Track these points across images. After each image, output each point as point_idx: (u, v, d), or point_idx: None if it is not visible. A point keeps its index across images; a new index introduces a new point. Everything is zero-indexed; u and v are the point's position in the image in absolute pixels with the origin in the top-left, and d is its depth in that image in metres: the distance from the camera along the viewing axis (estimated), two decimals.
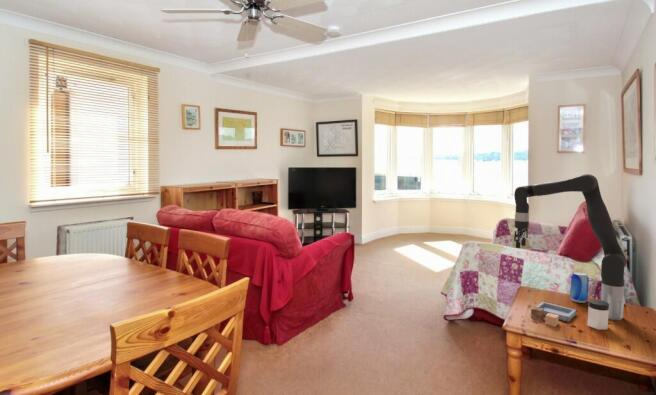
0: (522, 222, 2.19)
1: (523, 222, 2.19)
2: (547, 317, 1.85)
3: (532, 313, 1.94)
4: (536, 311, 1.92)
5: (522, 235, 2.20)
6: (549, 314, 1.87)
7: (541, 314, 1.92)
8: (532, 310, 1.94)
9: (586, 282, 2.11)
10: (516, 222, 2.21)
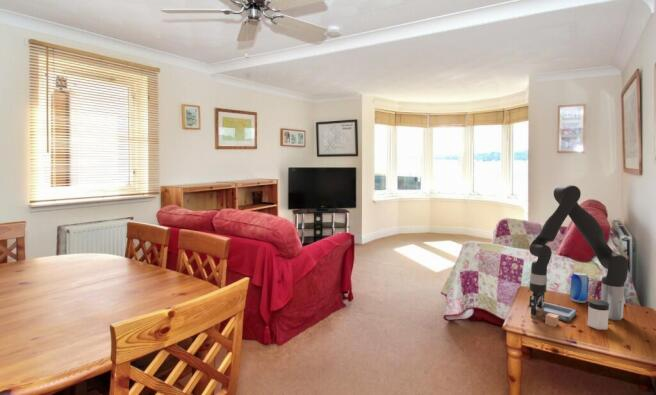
0: (539, 286, 1.89)
1: (540, 286, 1.89)
2: (547, 317, 1.85)
3: None
4: (536, 311, 1.92)
5: (538, 300, 1.90)
6: (549, 314, 1.87)
7: (541, 314, 1.92)
8: None
9: (586, 282, 2.11)
10: (532, 285, 1.92)
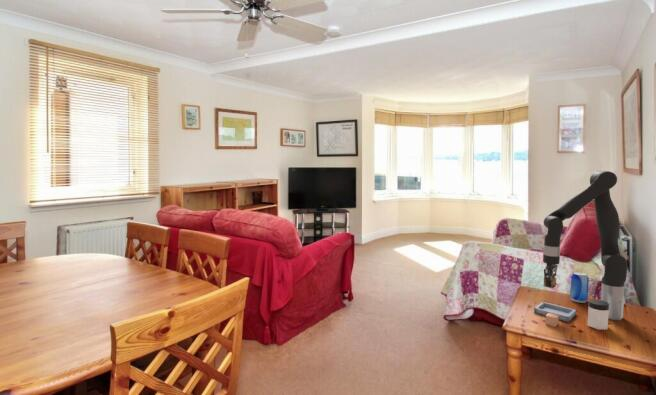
0: (552, 257, 1.94)
1: (553, 257, 1.94)
2: (547, 317, 1.85)
3: (545, 282, 1.99)
4: None
5: (552, 272, 1.96)
6: (549, 314, 1.87)
7: (553, 283, 1.97)
8: (545, 279, 1.98)
9: (586, 282, 2.11)
10: (545, 257, 1.97)
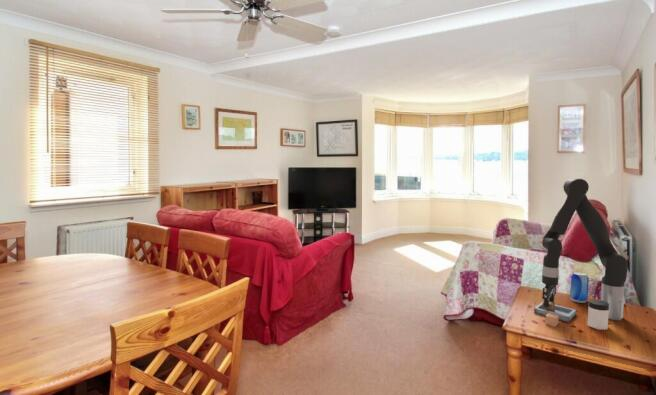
0: (551, 278, 1.95)
1: (552, 278, 1.95)
2: (547, 317, 1.85)
3: (543, 306, 2.00)
4: None
5: (551, 292, 1.96)
6: (549, 314, 1.87)
7: (552, 308, 1.98)
8: None
9: (586, 282, 2.11)
10: (544, 277, 1.98)
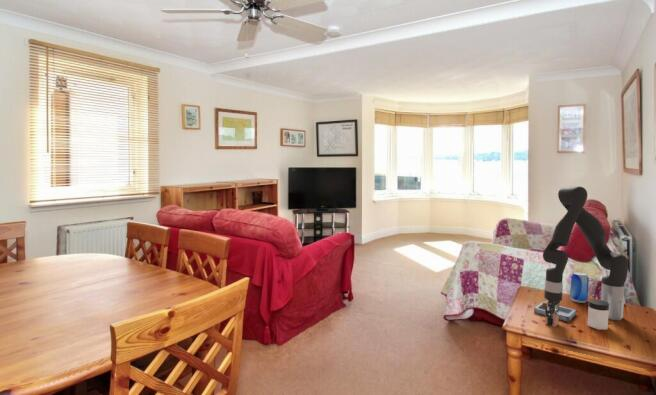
0: (554, 294, 1.81)
1: (556, 294, 1.81)
2: (547, 317, 1.85)
3: (543, 306, 2.00)
4: None
5: (555, 309, 1.82)
6: (549, 314, 1.87)
7: None
8: (544, 304, 2.00)
9: (586, 282, 2.11)
10: (547, 293, 1.84)
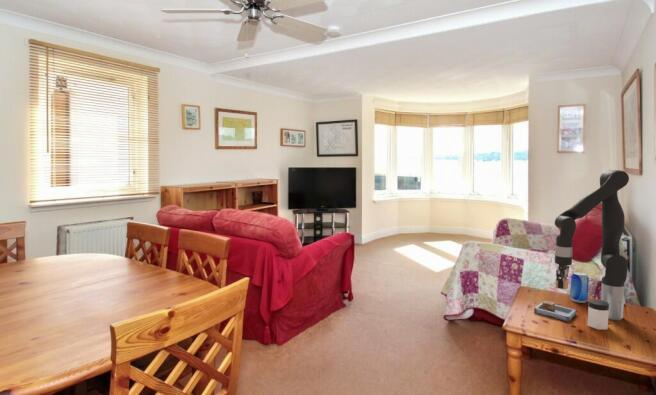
0: (565, 258, 1.90)
1: (566, 258, 1.90)
2: (557, 281, 1.94)
3: (543, 306, 2.00)
4: (548, 305, 1.98)
5: (565, 273, 1.91)
6: None
7: (552, 308, 1.98)
8: (544, 304, 2.00)
9: (586, 282, 2.11)
10: (557, 257, 1.92)
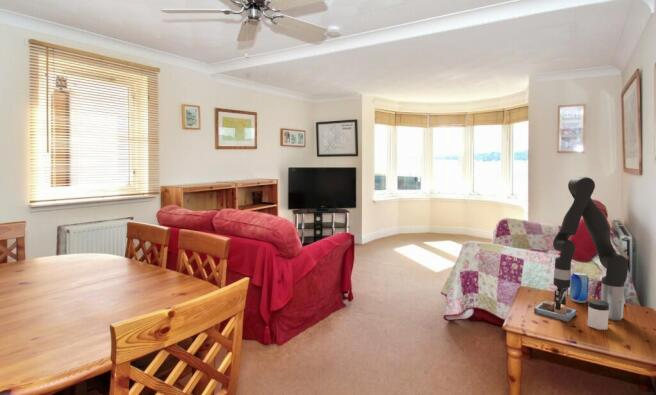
0: (563, 281, 1.91)
1: (564, 281, 1.91)
2: None
3: (543, 306, 2.00)
4: (548, 305, 1.98)
5: (563, 295, 1.92)
6: None
7: (552, 308, 1.98)
8: (544, 304, 2.00)
9: (586, 282, 2.11)
10: (556, 280, 1.94)
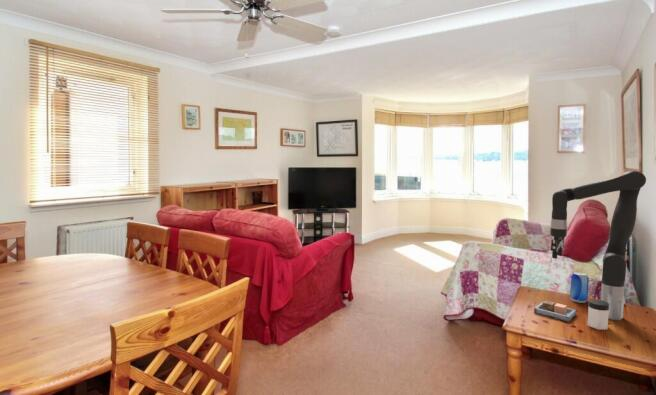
0: (560, 230, 2.00)
1: (561, 230, 2.00)
2: (556, 307, 1.96)
3: (543, 306, 2.00)
4: (548, 305, 1.98)
5: (559, 244, 2.01)
6: (557, 304, 1.97)
7: (552, 308, 1.98)
8: (544, 304, 2.00)
9: (586, 282, 2.11)
10: (553, 230, 2.02)
